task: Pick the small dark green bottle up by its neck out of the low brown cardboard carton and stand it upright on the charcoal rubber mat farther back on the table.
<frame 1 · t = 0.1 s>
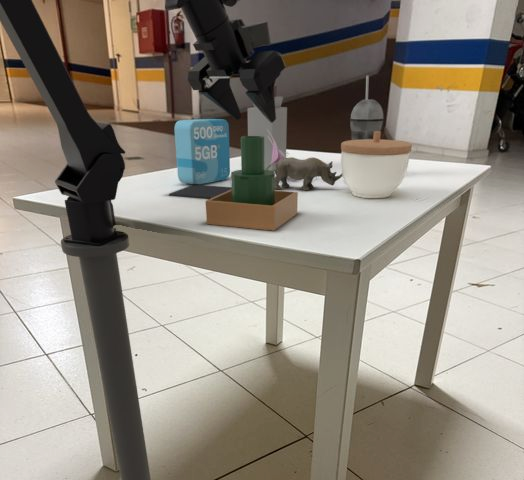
hand: (255, 119, 84), 13 cm above the table, tool tilted 30°, fingers open, 9 cm apart
carton: (253, 218, 78), on the table
data package: (205, 182, 107), on the table, touching mat
bottle: (253, 179, 76), in the carton
lily: (280, 179, 110), on the table
mat: (204, 192, 97), on the table
rhino figurine: (307, 190, 99), on the table
perfume bottle: (267, 169, 123), on the table
beverage cup: (361, 175, 113), on the table
lidded bowl: (371, 195, 94), on the table
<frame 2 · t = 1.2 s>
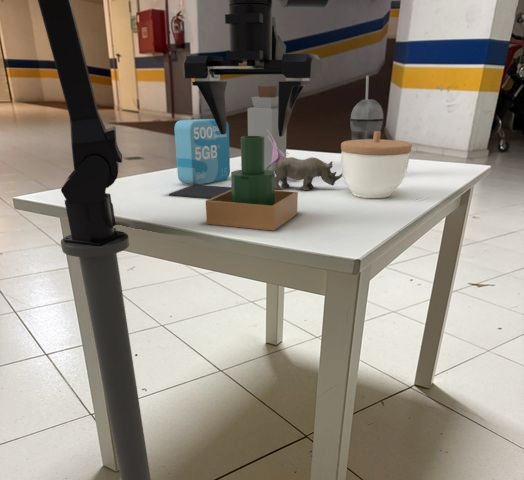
hand: (251, 135, 73), 12 cm above the table, tool pointing down, fingers open, 9 cm apart
nothing on the table moved.
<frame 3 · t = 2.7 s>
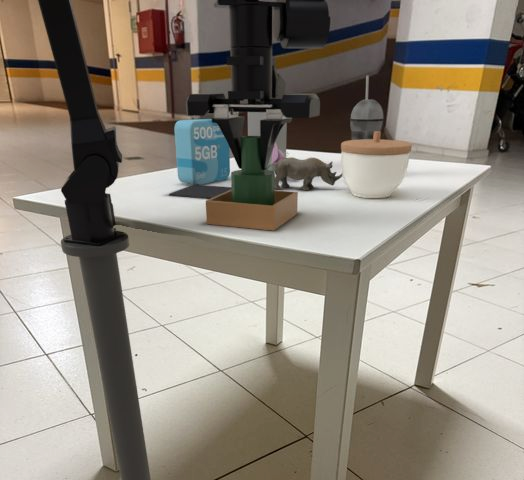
hand: (252, 168, 75), 8 cm above the table, tool pointing down, fingers closed on bottle, 3 cm apart
bottle: (252, 179, 76), in the carton, touching gripper
everything else where it was.
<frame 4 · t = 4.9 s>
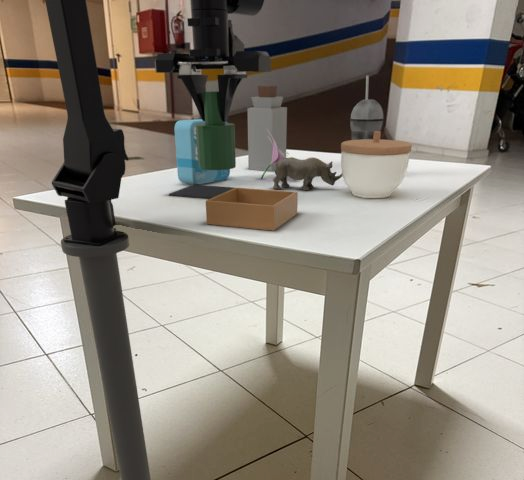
hand: (214, 121, 85), 13 cm above the table, tool pointing down, fingers closed on bottle, 3 cm apart
bottle: (215, 130, 86), point 12 cm above the table, touching gripper
everything else where it was.
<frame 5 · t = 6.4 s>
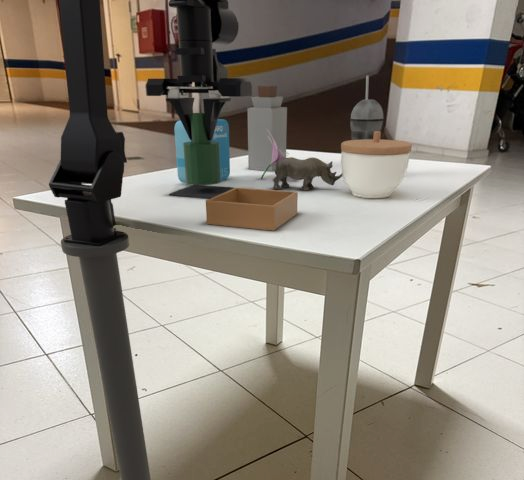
hand: (201, 139, 92), 10 cm above the table, tool pointing down, fingers closed on bottle, 3 cm apart
bottle: (201, 148, 93), point 8 cm above the table, touching gripper
everything else where it was.
when the fingers open (8 cm above the table, at t = 7.3 s): bottle stays where it is, resting on mat.
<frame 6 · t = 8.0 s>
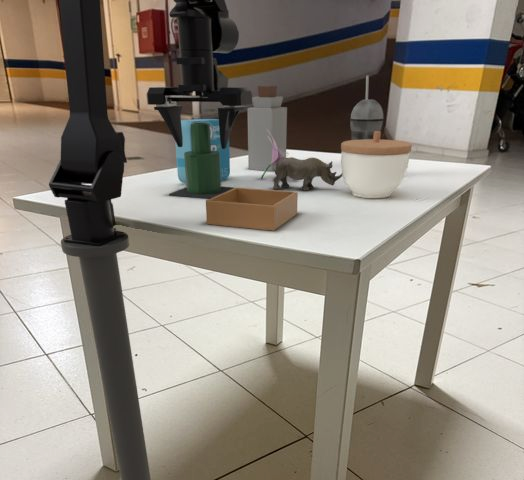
hand: (201, 147, 93), 8 cm above the table, tool pointing down, fingers open, 9 cm apart
bottle: (202, 158, 94), resting on mat
everything else where it was.
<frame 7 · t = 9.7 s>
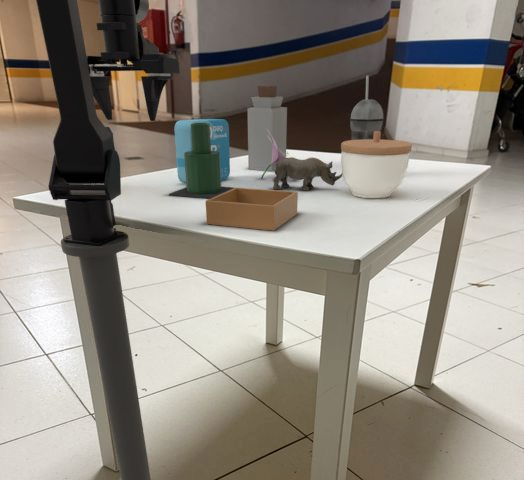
hand: (130, 120, 89), 13 cm above the table, tool pointing down, fingers open, 9 cm apart
nothing on the table moved.
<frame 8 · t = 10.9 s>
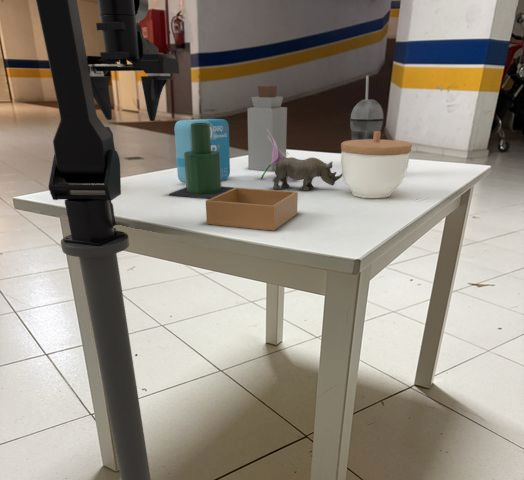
hand: (130, 120, 89), 13 cm above the table, tool pointing down, fingers open, 9 cm apart
nothing on the table moved.
at the end: bottle inside the target area on the mat (0.0 cm from its centre), point 6.3 cm above the mat's base; bottle tilted 0°; the gripper is holding nothing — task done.
